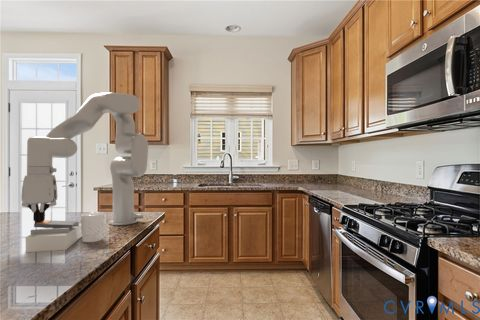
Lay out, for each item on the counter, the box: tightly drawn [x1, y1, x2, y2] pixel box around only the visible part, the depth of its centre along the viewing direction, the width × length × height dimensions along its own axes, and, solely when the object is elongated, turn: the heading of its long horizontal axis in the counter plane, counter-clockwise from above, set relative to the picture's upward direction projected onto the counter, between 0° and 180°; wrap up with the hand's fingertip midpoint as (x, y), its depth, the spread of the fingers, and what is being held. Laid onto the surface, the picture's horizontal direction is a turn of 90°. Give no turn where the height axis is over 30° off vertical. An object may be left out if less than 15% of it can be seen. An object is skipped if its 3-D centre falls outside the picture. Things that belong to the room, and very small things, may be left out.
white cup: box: [80, 211, 105, 243], centre depth 112 cm, size 8×8×10 cm
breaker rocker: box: [33, 219, 78, 228], centre depth 107 cm, size 12×6×1 cm, turn 103°
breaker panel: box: [25, 220, 82, 253], centre depth 107 cm, size 12×18×6 cm, turn 13°
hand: (39, 222), depth 106 cm, fingers closed
